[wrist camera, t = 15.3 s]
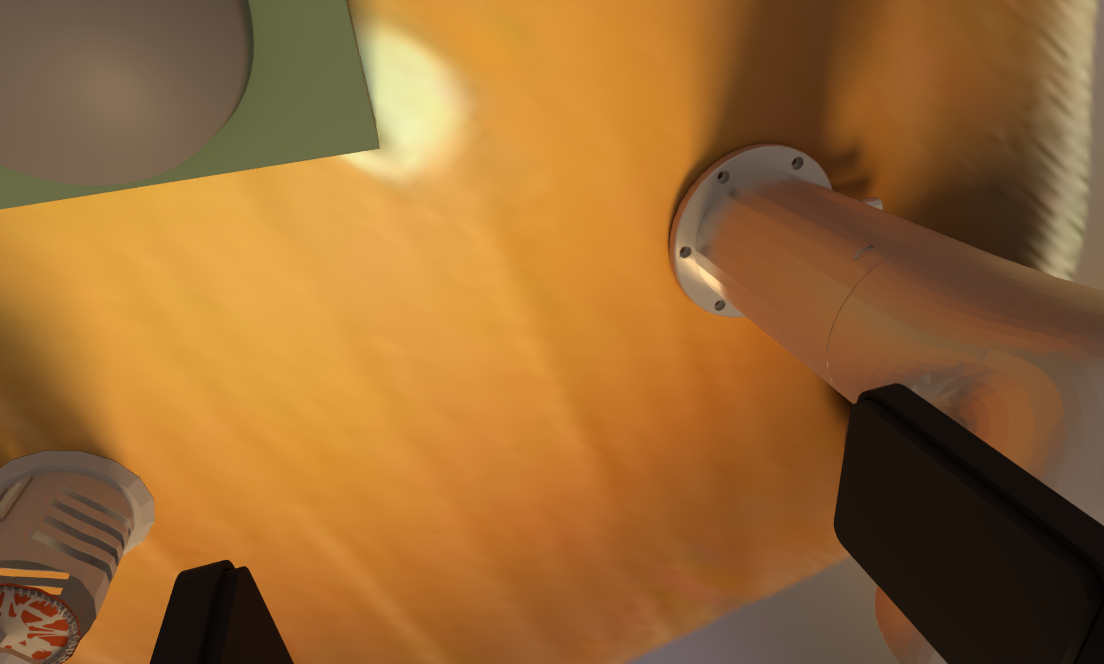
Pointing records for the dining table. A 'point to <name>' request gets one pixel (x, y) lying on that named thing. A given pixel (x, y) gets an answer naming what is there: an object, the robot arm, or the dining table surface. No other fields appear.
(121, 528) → the french press
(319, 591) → the dining table surface
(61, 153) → the green box with dome
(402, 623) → the dining table surface
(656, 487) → the dining table surface
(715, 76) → the dining table surface
